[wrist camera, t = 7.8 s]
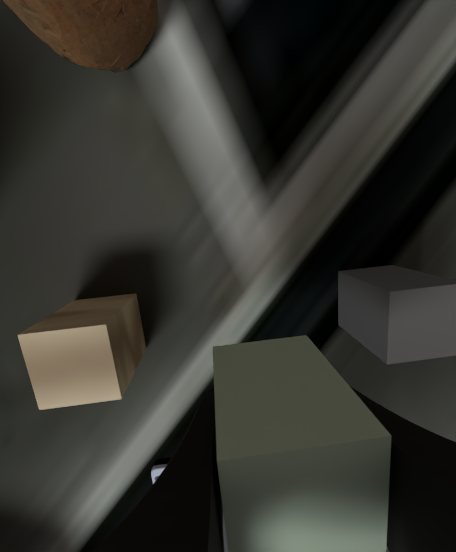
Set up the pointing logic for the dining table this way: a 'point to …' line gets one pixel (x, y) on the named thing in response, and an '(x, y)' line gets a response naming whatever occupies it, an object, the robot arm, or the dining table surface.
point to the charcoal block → (398, 312)
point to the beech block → (84, 351)
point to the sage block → (297, 452)
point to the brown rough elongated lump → (91, 29)
